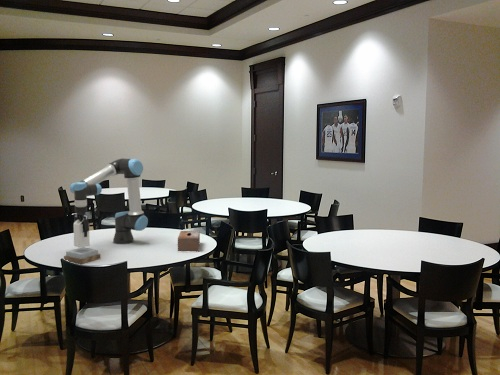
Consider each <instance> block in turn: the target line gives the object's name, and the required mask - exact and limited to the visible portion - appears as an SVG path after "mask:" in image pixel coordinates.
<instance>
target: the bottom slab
mask: <svg viewBox="0 0 500 375" xmlns="http://www.w3.org/2000/svg"><path fill="white" fill-rule="evenodd" d="M64 259H65V260H68V261H70V262H69V263H72V262H73V263H72V264H77V263H78V265H83V264H86V263H87V264H88V263H90V262H94V261H97V260H101V253H98V255H94V256H90V257H87V258H83V259H78V258H73V257H68V256H66V255H64V256H63V260H64ZM68 261H67V262H68Z"/></svg>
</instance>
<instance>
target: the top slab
mask: <svg viewBox="0 0 500 375" xmlns="http://www.w3.org/2000/svg"><path fill="white" fill-rule="evenodd" d="M98 254H99V250H98V249H97V248H95V249H94V248H90V247H80V248H79V247H77V248H75V249H71V250H67V251H65V256H68V257H73V258H78V259H83V258H87V257H90V256H94V255H98Z"/></svg>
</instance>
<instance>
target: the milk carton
mask: <svg viewBox="0 0 500 375" xmlns="http://www.w3.org/2000/svg"><path fill="white" fill-rule="evenodd" d="M83 220H84V218H83ZM83 220H82V222H83ZM82 222H80V220H79V219H78V220H76V221H75V222H74V221H73V246H74V247H77V248H82V247H85V248H87V247H90V244H91V243H90V230H89V231H88V232H87V242H83V224H82Z"/></svg>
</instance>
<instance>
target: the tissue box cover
mask: <svg viewBox="0 0 500 375" xmlns="http://www.w3.org/2000/svg"><path fill="white" fill-rule="evenodd" d="M200 235H201V233H200V230H180V231H179V234H178V236H177V252H178V251H198V252H199V250H198V249H200V244H199V243H200V241H201V240H200V239H201V238H200Z"/></svg>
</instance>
